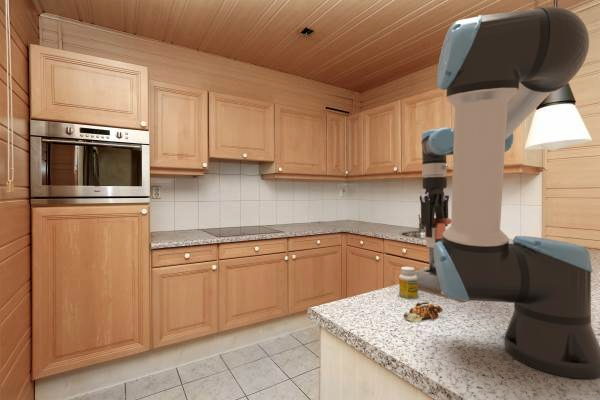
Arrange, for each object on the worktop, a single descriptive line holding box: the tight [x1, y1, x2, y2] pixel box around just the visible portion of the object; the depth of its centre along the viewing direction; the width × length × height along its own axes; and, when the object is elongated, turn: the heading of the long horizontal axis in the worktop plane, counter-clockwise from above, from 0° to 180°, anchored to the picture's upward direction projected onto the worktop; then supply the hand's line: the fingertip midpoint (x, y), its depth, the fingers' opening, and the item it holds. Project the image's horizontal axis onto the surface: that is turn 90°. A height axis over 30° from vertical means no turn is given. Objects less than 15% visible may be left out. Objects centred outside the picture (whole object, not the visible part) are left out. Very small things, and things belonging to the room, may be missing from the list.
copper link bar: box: [419, 217, 451, 272], centre depth 102 cm, size 11×5×18 cm, turn 35°
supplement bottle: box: [398, 266, 419, 300], centre depth 94 cm, size 5×5×10 cm
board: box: [418, 287, 467, 303], centre depth 100 cm, size 16×19×1 cm
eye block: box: [414, 266, 442, 293], centre depth 103 cm, size 10×10×5 cm
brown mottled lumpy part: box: [403, 300, 444, 324], centre depth 81 cm, size 7×12×4 cm, turn 129°
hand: (435, 246), depth 102 cm, fingers closed on copper link bar, 5 cm apart
